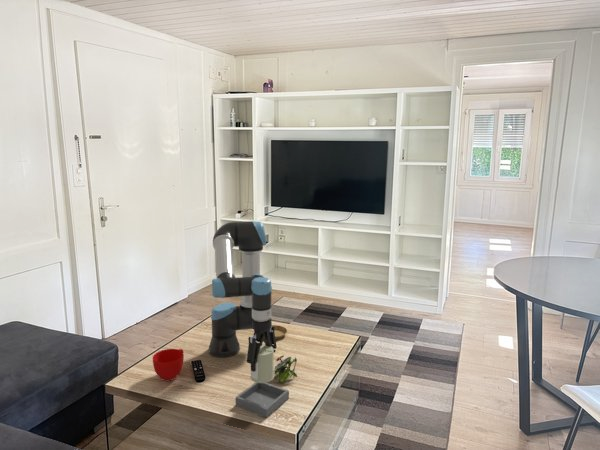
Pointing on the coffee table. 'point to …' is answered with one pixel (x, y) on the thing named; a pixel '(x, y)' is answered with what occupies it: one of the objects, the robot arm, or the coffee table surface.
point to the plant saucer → (279, 331)
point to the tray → (262, 398)
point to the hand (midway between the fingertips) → (262, 372)
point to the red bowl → (168, 363)
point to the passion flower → (281, 368)
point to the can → (265, 365)
